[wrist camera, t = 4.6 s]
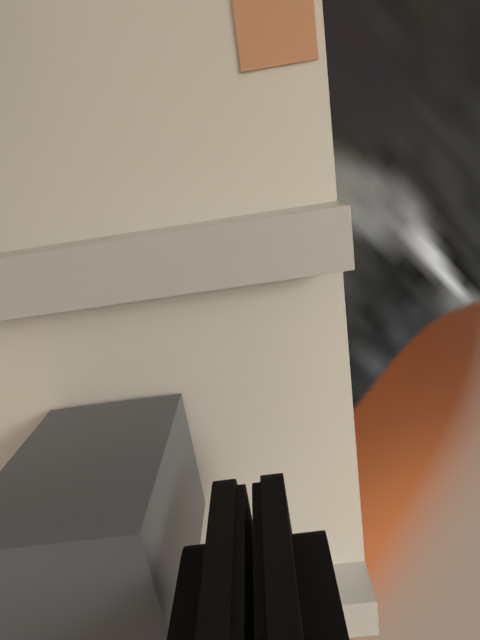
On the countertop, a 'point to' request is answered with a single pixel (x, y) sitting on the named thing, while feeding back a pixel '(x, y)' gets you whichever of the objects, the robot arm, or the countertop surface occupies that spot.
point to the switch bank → (184, 242)
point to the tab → (98, 522)
